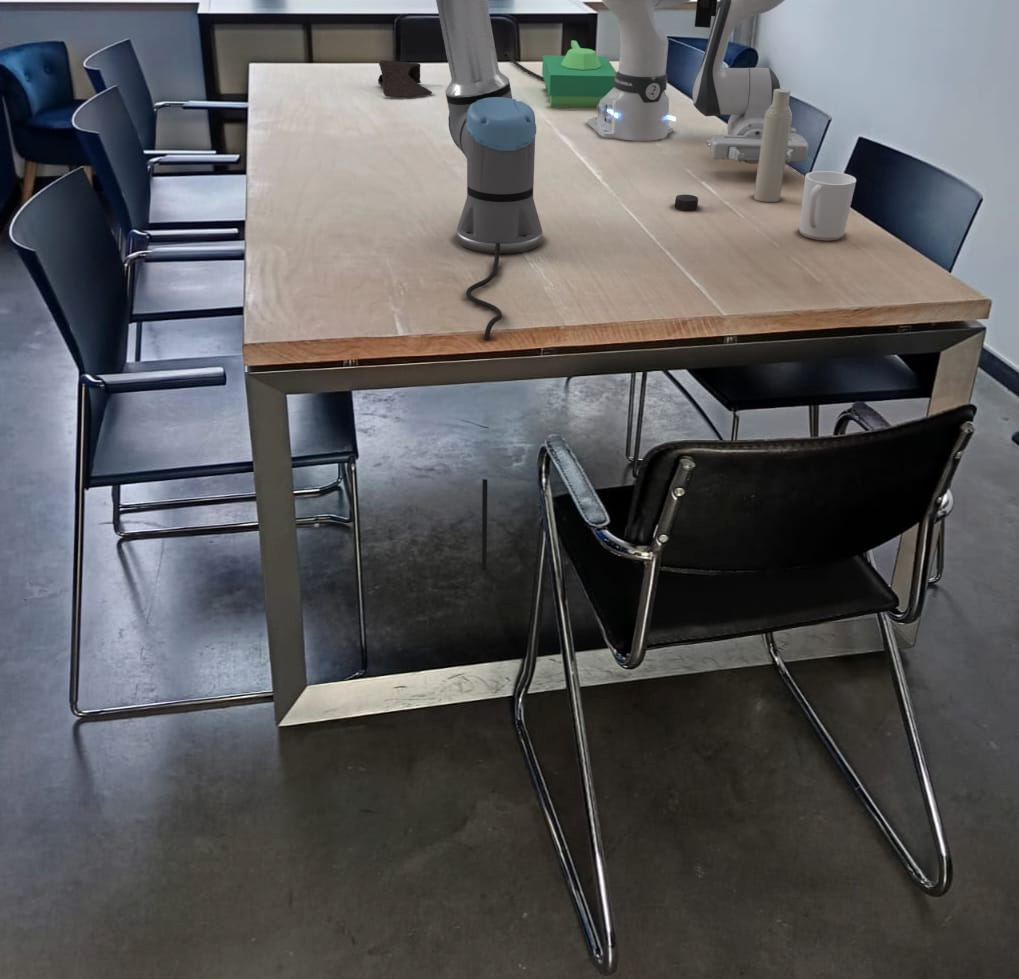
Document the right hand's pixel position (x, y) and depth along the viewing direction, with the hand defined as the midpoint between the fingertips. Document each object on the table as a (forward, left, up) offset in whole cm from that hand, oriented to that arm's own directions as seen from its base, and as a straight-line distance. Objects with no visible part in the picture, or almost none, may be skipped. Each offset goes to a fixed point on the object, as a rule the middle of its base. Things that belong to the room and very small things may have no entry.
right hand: (763, 158), depth 224 cm
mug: (+30, -7, -6) cm, 32 cm away
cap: (+7, -22, -4) cm, 23 cm away
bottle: (+7, -3, -6) cm, 10 cm away
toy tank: (-91, +2, -6) cm, 92 cm away
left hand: (+7, -22, +28) cm, 36 cm away
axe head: (-111, -42, -6) cm, 119 cm away
